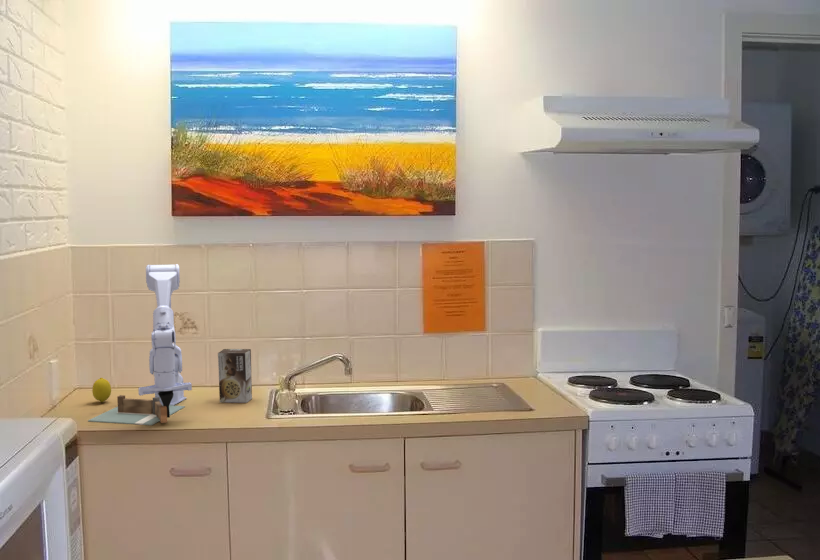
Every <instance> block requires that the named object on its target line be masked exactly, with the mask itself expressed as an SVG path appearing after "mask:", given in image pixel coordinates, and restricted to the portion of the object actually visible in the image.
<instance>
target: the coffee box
mask: <svg viewBox="0 0 820 560" xmlns="http://www.w3.org/2000/svg"><path fill="white" fill-rule="evenodd" d="M217 361H218V362H217V363H218V365H217V366H218V384H219V385H218V390H219V391H218V393H219V403H244V404H246V403H247V404H248V402H250V401H251V400H252V399H253V386H252V385H253V383H252V381H253V379H252V378H253V377H252V349H251V348H224V349H222V350H220V351H219V352H217Z"/></svg>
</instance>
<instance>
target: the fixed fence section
mask: <svg viewBox="0 0 820 560" xmlns="http://www.w3.org/2000/svg"><path fill="white" fill-rule="evenodd" d="M116 398H117V399H116V400H117V407H118V412H120V413H123V412H124V413H141V414H154V415H156V414H155V402H158V401H159V402H160V398H159V397H155V396H154V397H152V399H145V398H126V395H124V394H123V395H122V394H119V395H118V396H117V397H116Z"/></svg>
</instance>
